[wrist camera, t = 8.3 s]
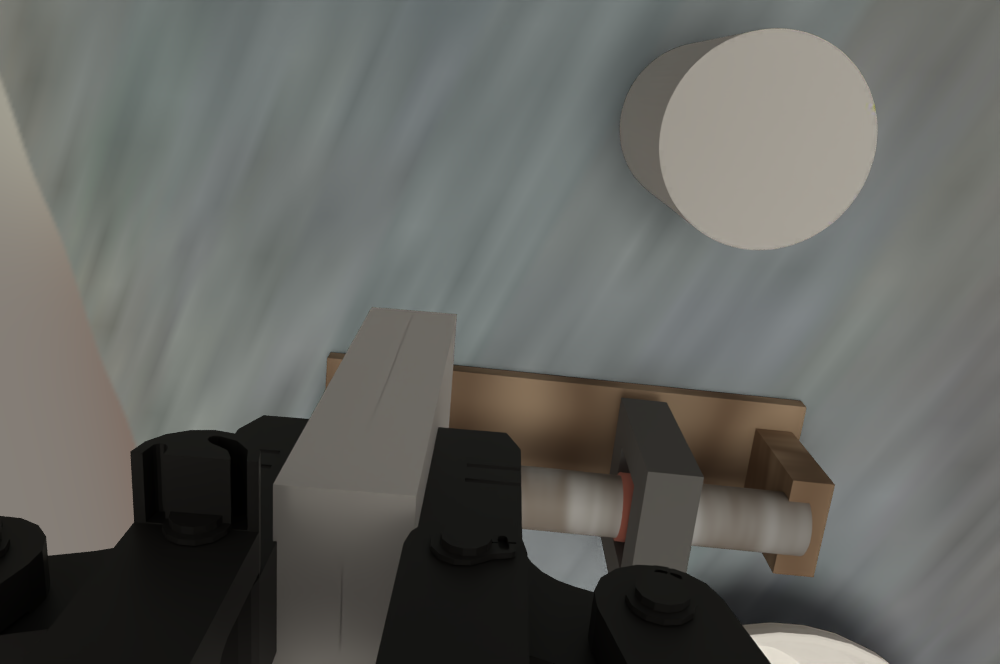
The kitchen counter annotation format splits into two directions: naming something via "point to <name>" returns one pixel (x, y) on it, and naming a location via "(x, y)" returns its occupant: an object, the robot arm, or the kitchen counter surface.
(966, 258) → the kitchen counter surface
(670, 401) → the pipe stand
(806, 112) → the light grey cylinder
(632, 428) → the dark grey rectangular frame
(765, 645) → the bowl
